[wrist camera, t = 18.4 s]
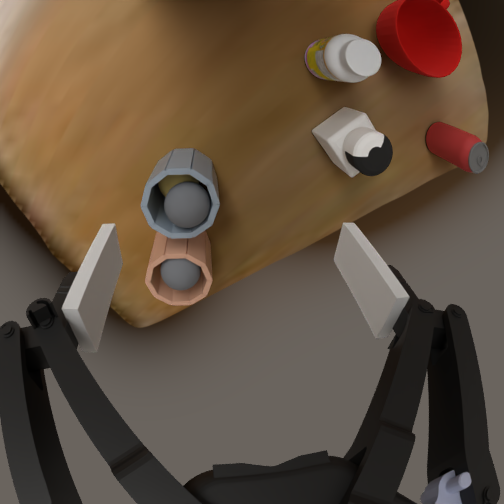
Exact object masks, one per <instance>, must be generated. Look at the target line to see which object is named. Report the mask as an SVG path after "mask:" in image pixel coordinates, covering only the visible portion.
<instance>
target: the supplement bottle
mask: <svg viewBox="0 0 504 504" xmlns="http://www.w3.org/2000/svg"><path fill="white" fill-rule="evenodd" d="M305 63H306V66H307V68H308V69H309V71H310V72H311V73H312V74H313V75H314V76H316V77H318V78H320V79H324V80H333V81H342V82H351V83H355V82H360V81H363V80H365V79H366V78H367V77H369V76H371V75H374V74H375V73H376V72H377V71H378V70H379V68H380V66H381V55H380V52H379V50H378V48H377V47H376V46H375V45H374V44H373V43H372V42H370V41H368V40H365V39H362V38H360V37H358V36H356V35H352V34H341V35H336V36H332V37H328V38H324V39H320V40H317V41H315V42H313V43H311V44H310V45H309V46H308V48H307V50H306V52H305Z"/></svg>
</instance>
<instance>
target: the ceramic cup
mask: <svg viewBox="0 0 504 504" xmlns="http://www.w3.org/2000/svg"><path fill="white" fill-rule="evenodd" d="M449 5H450V2H449V0H397V1H395V2H393V3H391V4H390V5H388V6H387V7H386V8H385V9H384V10H383V11H382V12H381V14H380V16H379V18H378V21H377V25H376V33H377V38H378V41H379V44H380V46H381V48H382V49H383V51H384V52H385V54H386V55H387V56H388V57H389V58H390V59H391V60H392V61H394V62H395V63H396V64H397V65H399V66H401V67H403V68H404V69H406V70H409V71H411V72H414V73H417V74H421V75H424V76H428V77H436V78H440V77H445V76H447V75H449V74H451V73H452V72H453V71H454V70H455V69H456V67H457V66H458V64H459V62H460V59H461V54H462V42H461V36H460V33H459V30H458V27H457V25H456V23H455V21H454V19H453V17H452V16H451V15H450V13H449V12H448V11H447V10H446V9H447V8H448V7H449Z"/></svg>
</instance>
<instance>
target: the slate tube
mask: <svg viewBox="0 0 504 504" xmlns="http://www.w3.org/2000/svg"><path fill="white" fill-rule="evenodd" d="M184 174H190V175H191V176H193V177H194V178H196V179H197V180H199V181H200V182H202V183H203V184H205V185H206V186H207V188H208V190H207V193H208V195H209V198H210V211H209V213H208V215H207V217H206V219H205V220H204V221H203V222H202V223H200V224H199V225H197V226H195V227H191V228H183V227H179V226H177V225H175V224H174V223H172V222H171V221H170V220H169V218H168V217H167V215H166V213H165V209H164V202H165V196H164V195H163V194H162V193H161V191H160V189H159V185H158V182H159V181H161V180H162V179H163V178H164V177H166V176H167V175H184ZM219 206H220V200H219V191H218V181H217V175H216V172H215V169H214V166H213V163H212V160H211V159H210V158H208V157H207V156H205V155H204V154H202V153H201V152H199V151H198V150H196V149H195V150H194V148H186V149H174V150H172V151H170V152H169V153H168V154H167V155H165V156H164V157H163V158H161V159H160V160H159V161H158V162H157V164H156V166H155V168H154V170H153V172H152V174H151V175H150V177H149V179H148V181H147V183H146V185H145V190H144V194H143V198H142V202H141V209H142V211H143V213H144V215H145V217H146V219H147V222H148V224H149V226H151V228H153V229H154V230H156V231H158V232H159V233H161V234H163V235H165V236H166V237H168V238H170V237H171V239H176V238H193V237H196V236H197V235H199V234H200V233H202V232H203V231H205V230H206V229H208V228H209V227H211V226H212V225H213V222H214V219H215V217H216V214H217V211H218V209H219Z"/></svg>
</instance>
